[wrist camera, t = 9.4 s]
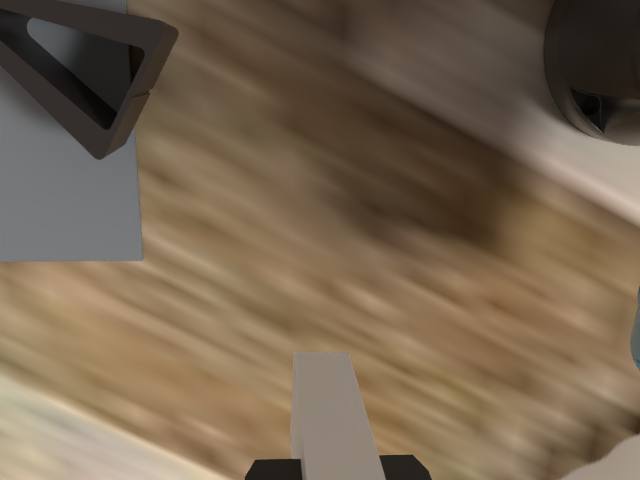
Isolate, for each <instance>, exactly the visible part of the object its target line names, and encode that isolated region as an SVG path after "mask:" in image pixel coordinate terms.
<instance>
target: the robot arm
mask: <svg viewBox="0 0 640 480" xmlns="http://www.w3.org/2000/svg"><path fill="white" fill-rule="evenodd" d="M544 63H545V71H546V77H547V81H548V85H549V88H550V91H551V93H552V96H553V98H554V100H555V102H556V104H557V106H558V107H559V109H560V110H561V112H562V113H563V114H564V116H565V117H566V118H567V119H568V120H569V121H570V122H571V123H572V124H573V125H574V126H576V127H577V128H578V129H580V130H581V131H583V132H584V133H586V134H588V135H590V136H592V137H594V138H597V139H600V140H604V141H608V142H613V143H618V144H622V145H629V146H640V0H556V2H555V4H554V7H553V9H552V12H551V15H550V18H549V22H548V26H547V31H546V36H545V45H544ZM630 344H631V353H632V357H633V360H634V362H635V364H636V366H637V367H638V369H639V370H640V287H639V291H638V308H637V313H636V317H635V322H634V326H633V330H632V333H631V340H630ZM290 442H291V456H292V459H269V460H255V461H254V463H253V465H252V466H251V468H250V470H249V471H248V473H247V475H246V476H245V480H432V479H431V477H430V474H429V472H428V470H427V469H426V468H425V467H424V466H423V465H422V464H421V463H420V462H419V461H418V460H417V459H416V458H415V457H414V456H413V455H379V454H378V451H377V448H376V444H375V441H374V437H373V434H372V431H371V427H370V424H369V420H368V417H367V414H366V410H365V407H364V403H363V400H362V397H361V393H360V390H359V386H358V383H357V380H356V376H355V373H354V369H353V366H352V363H351V359H350V356H349V352H307V353H294V358H293V383H292V407H291V431H290Z"/></svg>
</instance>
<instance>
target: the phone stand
mask: <svg viewBox="0 0 640 480" xmlns="http://www.w3.org/2000/svg"><path fill="white" fill-rule="evenodd" d="M31 18H37V19H40V20H44V21H47V22H51V23H54V24H58V25H62V26H65V27H69V28H72V29H76V30H79V31H83V32H86V33H90V34H94V35H97V36H101V37H104V38H108V39H111V40H115V41H119V42H122V43H126V44H129V45H133V46H136V47H140V48H142V49H143V50H144V52H145V57H144V59H143V61H142V63H141V65H140V67H139V70H138V72H137V74H136V76H135V78H134V80H133V82H132V84H131V86H130V88H129V91H128V93H127V95H126V97H125V99H124V101H123V103H122V105H121V107H120V110H119V112H118V113H117V112H116V111H115V110H114V109H113V108H111V107H110V106H109V105H108V104H107V103H106V102H105V101H103V100H102V99H101V98H100V97H99V96H98V95H97V94H96V93H94V92H93V91H92V90H91V89H90V88H89V87H88V86H86V85H85V84H84V83H83V82H82V81H81V80H80V79H78V78H77V77H76V76H75V75H74V74H73V73H72V72H70V71H69V70H68V69H67V68H66V67H65V66H64V65H63V64H61V63H60V62H59V61H58V60H57V59H56V58H55V57H53V56H52V55H51V54H50V53H49V52H48V51H47V50H45V49H44V48H43V47H42V46H41V45H40V44H39V43H37V42H36V41H35V40H34V39H33V38H32V37H31V36H30V35H29V33H28V31H27V24H28V22H29V20H30V19H31ZM177 37H178V30H177V29H176V28H174V27H172V26H170V25H168V24H166V23H164V22H162V21H159V20H154V19H149V18H144V17H139V16H133V15H128V14H123V13H118V12H113V11H108V10H103V9H98V8H93V7H88V6H82V5H77V4H72V3H67V2H62V1H57V0H0V66H1V67H2V68H4V69H5V70H6V71H7V72H8V73H9V74H10V75H11V76H12V77H13V78H14V79H15V80H16V81H17V82H18V83H19V84H20V85H21V86H22V87H23V88H24V89H25V90H26V91H27V92H28V93H29V94H30V95H31V96H32V97H33V98H34V99H35V100H36V101H37V102H38V103H39V104H40V105H41V106H42V107H43V108H44V109H45V110H46V111H47V112H48V113H49V114H50V115H51V116H52V117H53V118H54V119H55V120H56V121H57V122H58V123H59V124H60V125H61V126H62V127H63V128H64V129H65V130H66V131H67V132H68V133H69V134H71V135H72V136H73V137H74V138H75V139H76V140H77V141H78V142H79V143H80V144H81V145H82V146H83V147H84V148H85V149H86V150H87V151H88V152H89V153H90V154H91V155H92V156H93V157H94V158H95V159H97V160H101V159H103V158H105V157H106V156H108V155H110V154H111V153H113V152H114V151H116V150H117V149H119V148H121V147H122V146H124V145H125V144H126V142H127V140H128V138H129V136H130V134H131V132H132V130H133V128H134V125H135V123H136V121H137V119H138V117H139V115H140V113H141V111H142V109H143V107H144V105H145V103H146V101H147V99H148V97H149V95H150V93H149V91H148V90H149V89H152V88H153V86H154V84H155V82H156V80H157V78H158V76H159V74H160V72H161V70H162V68H163V66H164V64H165V62H166V60H167V57H168V55H169V53H170V51H171V49H172V47H173V45H174V43H175V41H176V39H177Z"/></svg>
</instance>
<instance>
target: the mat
mask: <svg viewBox="0 0 640 480" xmlns="http://www.w3.org/2000/svg"><path fill="white" fill-rule="evenodd" d="M57 1H62V2H67V3H72V4H77V5H82V6H88V7H93V8H98V9H103V10H108V11H113V12H118V13H123V14H127V6H126V0H57ZM27 31H28V33H29V35H30V36H31V37H32V38H33V39H34V40H35V41H36V42H37V43H39V44H40V45H41V46H42V47H43V48H44V49H45V50H47V51H48V52H49V53H50V54H51V55H52V56H53V57H55V58H56V59H57V60H58V61H59V62H60V63H61V64H63V65H64V66H65V67H66V68H67V69H68V70H69V71H70V72H72V73H73V74H74V75H75V76H76V77H77V78H78V79H80V80H81V81H82V82H83V83H84V84H85V85H86V86H88V87H89V88H90V89H91V90H92V91H93V92H94V93H96V94H97V95H98V96H99V97H100V98H101V99H102V100H103V101H105V102H106V103H107V104H108V105H109V106H110V107H111V108H113V109H114V110H115V111H116V112H117V113H118V112H119V110H120V107H121V105H122V103H123V101H124V99H125V97H126V95H127V93H128V91H129V88H130V86H131V84H132V82H131V66H130V51H129V44H126V43H122V42H119V41H115V40H111V39H108V38H104V37H101V36H97V35H94V34H90V33H86V32H83V31H79V30H76V29H72V28H69V27H65V26H62V25H58V24H54V23H51V22H47V21H44V20H40V19H37V18H31V19H30V20H29V22H28V24H27ZM142 260H143V248H142V233H141V218H140V202H139V187H138V172H137V157H136V142H135V127H134V128H133V130H132V132H131V134H130V136H129V138H128V140H127V142H126V144H125V145H124V146H122V147H121V148H119V149H117V150H116V151H114V152H113V153H111V154H110V155H108V156H106V157H105V158H103V159H101V160H97V159H95V158H94V157H93V156H92V155H91V154H90V153H89V152H88V151H87V150H86V149H85V148H84V147H83V146H82V145H81V144H80V143H79V142H78V141H77V140H76V139H75V138H74V137H73V136H72V135H71V134H69V133H68V132H67V131H66V130H65V129H64V128H63V127H62V126H61V125H60V124H59V123H58V122H57V121H56V120H55V119H54V118H53V117H52V116H51V115H50V114H49V113H48V112H47V111H46V110H45V109H44V108H43V107H42V106H41V105H40V104H39V103H38V102H37V101H36V100H35V99H34V98H33V97H32V96H31V95H30V94H29V93H28V92H27V91H26V90H25V89H24V88H23V87H22V86H21V85H20V84H19V83H18V82H17V81H16V80H15V79H14V78H13V77H12V76H11V75H10V74H9V73H8V72H7V71H6V70H5V69H4V68H2V67H1V66H0V262H24V261H142Z"/></svg>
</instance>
